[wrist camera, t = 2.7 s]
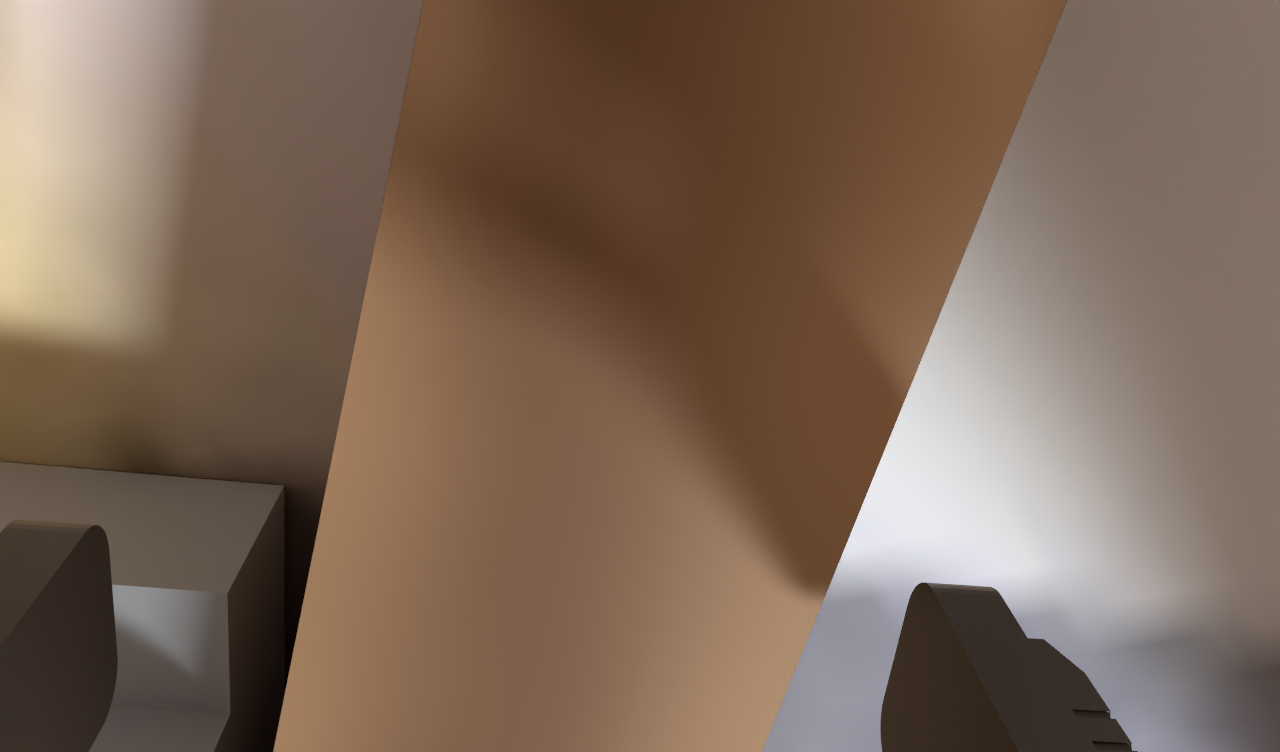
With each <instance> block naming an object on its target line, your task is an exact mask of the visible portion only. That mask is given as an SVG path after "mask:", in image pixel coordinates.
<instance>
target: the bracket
mask: <svg viewBox="0 0 1280 752" xmlns="http://www.w3.org/2000/svg"><path fill="white" fill-rule="evenodd" d="M14 520H31V521H46V522H61V523H75V524H90V525H99V526H101V527H102V528H103V529H104V531H105V533H106V536H107V539H108V543H109V552H110V565H111V578H112V591H113V603H114V616H115V629H116V642H117V656H118V666H117V678H116V685H115V690H114V695H113V699H112V703H111V707H110V710H109V713H108V715H107V718H106V720H105V723H104V725H103V727H102V729H101V730H100V732H99V734H98V736H97V738H96V739H95V741H94V743H93V745H92V747H91V749H90V750H89V752H273V750H274V745H275V740H276V735H277V730H278V725H279V720H280V715H281V710H282V705H283V700H284V695H285V636H284V486H282V485H270V484H259V483H247V482H235V481H223V480H211V479H199V478H188V477H176V476H164V475H152V474H140V473H128V472H117V471H105V470H93V469H81V468H69V467H58V466H46V465H34V464H22V463H10V462H0V532H1V531H2V530H3V529H4V528H5V527H6V526H7V525H8V524H9V523H11V522H12V521H14Z"/></svg>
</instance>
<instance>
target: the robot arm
mask: <svg viewBox="0 0 1280 752" xmlns="http://www.w3.org/2000/svg"><path fill="white" fill-rule="evenodd" d="M117 666H118V656H117V642H116V629H115V616H114V603H113V591H112V578H111V565H110V552H109V543H108V539H107V536H106V533H105V531H104V529H103V528H102V527H101V526H99V525H90V524H75V523H61V522H46V521H31V520H14V521H12V522H11V523H9V524H8V525H7V526H6V527H5V528H4V529H3V530H2V531H1V532H0V752H89V750H90V749H91V747H92V745H93V743H94V741H95V739H96V738H97V736H98V734H99V732H100V730H101V729H102V727H103V725H104V723H105V720H106V718H107V715H108V713H109V710H110V707H111V703H112V699H113V695H114V690H115V685H116V678H117ZM881 744H882V751H883V752H1137V751H1132V749H1131V741H1130V740H1129V738H1128V737H1127V735H1126V734H1125V732H1124V731H1123V729H1122V728H1121V726H1120V725H1119V723H1118V722H1117V720H1116V719H1111V718H1110V710H1109V708H1108V707H1107V705H1106V704H1105V702H1104V701H1103V699H1102V698H1101V696H1100V695H1099V693H1098V692H1097V690H1096V689H1095V688H1094V686H1093V685H1092V683H1091V682H1090V680H1089V679H1088V677H1087V676H1086V674H1085V673H1084V672H1083V671H1082V670H1080V669H1079V668H1078V667H1077V666H1076V665H1074V664H1073V663H1072V662H1071V661H1069V660H1068V659H1067V658H1066V657H1065V656H1063V655H1062V654H1061V653H1060V652H1059V651H1057V650H1056V649H1055V648H1054V647H1052V646H1051V645H1050V644H1049V643H1048V642H1046V641H1045V640H1044V639H1030V638H1027V637H1026V635H1025V633H1024V632H1023V630H1022V629H1021V627H1020V625H1019V624H1018V622H1017V621H1016V619H1015V617H1014V616H1013V614H1012V612H1011V611H1010V609H1009V608H1008V606H1007V604H1006V603H1005V601H1004V600H1003V598H1002V596H1001V595H1000V594H999V592H998V591H997V590H995V589H994V588H992V587H982V586H967V585H952V584H937V583H920V584H918V585H917V586H916V587H915V589H914V590H913V592H912V594H911V597H910V599H909V603H908V606H907V610H906V614H905V618H904V622H903V626H902V630H901V634H900V638H899V641H898V645H897V649H896V653H895V657H894V661H893V665H892V669H891V673H890V677H889V681H888V685H887V688H886V692H885V696H884V701H883V705H882V713H881Z"/></svg>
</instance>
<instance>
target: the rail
mask: <svg viewBox="0 0 1280 752" xmlns="http://www.w3.org/2000/svg"><path fill="white" fill-rule="evenodd" d="M1066 2H1067V0H423V5H422V10H421V15H420V20H419V25H418V30H417V35H416V40H415V45H414V50H413V55H412V60H411V65H410V70H409V75H408V80H407V85H406V90H405V95H404V100H403V105H402V110H401V115H400V120H399V125H398V130H397V135H396V140H395V145H394V150H393V155H392V160H391V165H390V170H389V175H388V180H387V185H386V190H385V195H384V200H383V205H382V210H381V215H380V220H379V225H378V230H377V235H376V240H375V245H374V250H373V255H372V260H371V265H370V270H369V275H368V280H367V285H366V290H365V295H364V300H363V305H362V310H361V315H360V320H359V325H358V330H357V335H356V340H355V345H354V350H353V355H352V360H351V365H350V370H349V375H348V380H347V385H346V390H345V395H344V400H343V405H342V410H341V415H340V420H339V425H338V430H337V435H336V440H335V445H334V450H333V455H332V460H331V465H330V470H329V475H328V480H327V485H326V490H325V495H324V500H323V505H322V510H321V515H320V520H319V525H318V530H317V535H316V540H315V545H314V550H313V555H312V560H311V565H310V570H309V575H308V580H307V585H306V590H305V595H304V600H303V605H302V610H301V615H300V620H299V625H298V630H297V635H296V640H295V645H294V650H293V655H292V660H291V665H290V670H289V675H288V680H287V685H286V690H285V695H284V700H283V705H282V710H281V715H280V720H279V725H278V730H277V735H276V740H275V745H274V750H273V752H762V750H763V748H764V745H765V743H766V740H767V738H768V735H769V733H770V730H771V728H772V725H773V723H774V720H775V718H776V716H777V713H778V711H779V708H780V706H781V703H782V701H783V698H784V696H785V693H786V691H787V688H788V686H789V684H790V681H791V679H792V676H793V674H794V671H795V669H796V666H797V664H798V661H799V659H800V656H801V654H802V652H803V649H804V647H805V644H806V642H807V639H808V637H809V634H810V632H811V629H812V627H813V624H814V622H815V620H816V617H817V615H818V612H819V610H820V607H821V605H822V602H823V600H824V597H825V595H826V592H827V590H828V588H829V585H830V583H831V580H832V578H833V575H834V573H835V570H836V568H837V565H838V563H839V560H840V558H841V556H842V553H843V551H844V548H845V546H846V543H847V541H848V538H849V536H850V533H851V531H852V528H853V526H854V524H855V521H856V519H857V516H858V514H859V511H860V509H861V506H862V504H863V501H864V499H865V496H866V494H867V492H868V489H869V487H870V484H871V482H872V479H873V477H874V474H875V472H876V469H877V467H878V464H879V462H880V460H881V457H882V455H883V452H884V450H885V447H886V445H887V442H888V440H889V437H890V435H891V432H892V430H893V428H894V425H895V423H896V420H897V418H898V415H899V413H900V410H901V408H902V405H903V403H904V400H905V398H906V396H907V393H908V391H909V388H910V386H911V383H912V381H913V378H914V376H915V373H916V371H917V368H918V366H919V364H920V361H921V359H922V356H923V354H924V351H925V349H926V346H927V344H928V341H929V339H930V336H931V334H932V332H933V329H934V327H935V324H936V322H937V319H938V317H939V314H940V312H941V309H942V307H943V304H944V302H945V300H946V297H947V295H948V292H949V290H950V287H951V285H952V282H953V280H954V277H955V275H956V272H957V270H958V268H959V265H960V263H961V260H962V258H963V255H964V253H965V250H966V248H967V245H968V243H969V240H970V238H971V236H972V233H973V231H974V228H975V226H976V223H977V221H978V218H979V216H980V213H981V211H982V208H983V206H984V204H985V201H986V199H987V196H988V194H989V191H990V189H991V186H992V184H993V181H994V179H995V176H996V174H997V172H998V169H999V167H1000V164H1001V162H1002V159H1003V157H1004V154H1005V152H1006V149H1007V147H1008V144H1009V142H1010V140H1011V137H1012V135H1013V132H1014V130H1015V127H1016V125H1017V122H1018V120H1019V117H1020V115H1021V112H1022V110H1023V108H1024V105H1025V103H1026V100H1027V98H1028V95H1029V93H1030V90H1031V88H1032V85H1033V83H1034V80H1035V78H1036V76H1037V73H1038V71H1039V68H1040V66H1041V63H1042V61H1043V58H1044V56H1045V53H1046V51H1047V48H1048V46H1049V44H1050V41H1051V39H1052V36H1053V34H1054V31H1055V29H1056V26H1057V24H1058V21H1059V19H1060V16H1061V14H1062V12H1063V9H1064V7H1065V4H1066Z"/></svg>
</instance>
